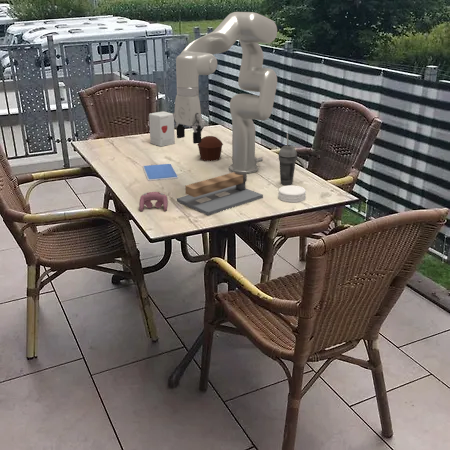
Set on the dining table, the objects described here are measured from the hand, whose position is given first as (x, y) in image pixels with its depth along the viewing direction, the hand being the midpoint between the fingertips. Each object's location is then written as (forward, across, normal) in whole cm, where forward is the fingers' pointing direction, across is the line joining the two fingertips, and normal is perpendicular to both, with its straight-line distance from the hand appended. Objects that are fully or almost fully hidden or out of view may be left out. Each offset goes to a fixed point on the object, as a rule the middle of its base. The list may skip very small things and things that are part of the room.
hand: (188, 140), depth 199 cm
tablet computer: (+22, -30, +7) cm, 38 cm away
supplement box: (+20, -68, +35) cm, 79 cm away
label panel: (+21, +11, +5) cm, 24 cm away
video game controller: (+21, +3, -18) cm, 28 cm away
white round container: (+21, +27, +26) cm, 43 cm away
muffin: (+21, -32, +36) cm, 53 cm away
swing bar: (+16, +10, +5) cm, 20 cm away
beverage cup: (+21, +15, +36) cm, 44 cm away
